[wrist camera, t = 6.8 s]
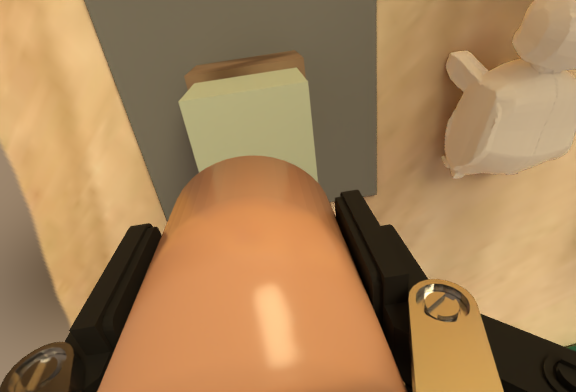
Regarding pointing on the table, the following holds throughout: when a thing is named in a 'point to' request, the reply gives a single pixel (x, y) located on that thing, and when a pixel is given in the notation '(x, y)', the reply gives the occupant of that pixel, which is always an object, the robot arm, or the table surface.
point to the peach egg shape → (252, 294)
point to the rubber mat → (235, 45)
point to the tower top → (251, 119)
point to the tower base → (245, 67)
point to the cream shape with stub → (516, 98)
